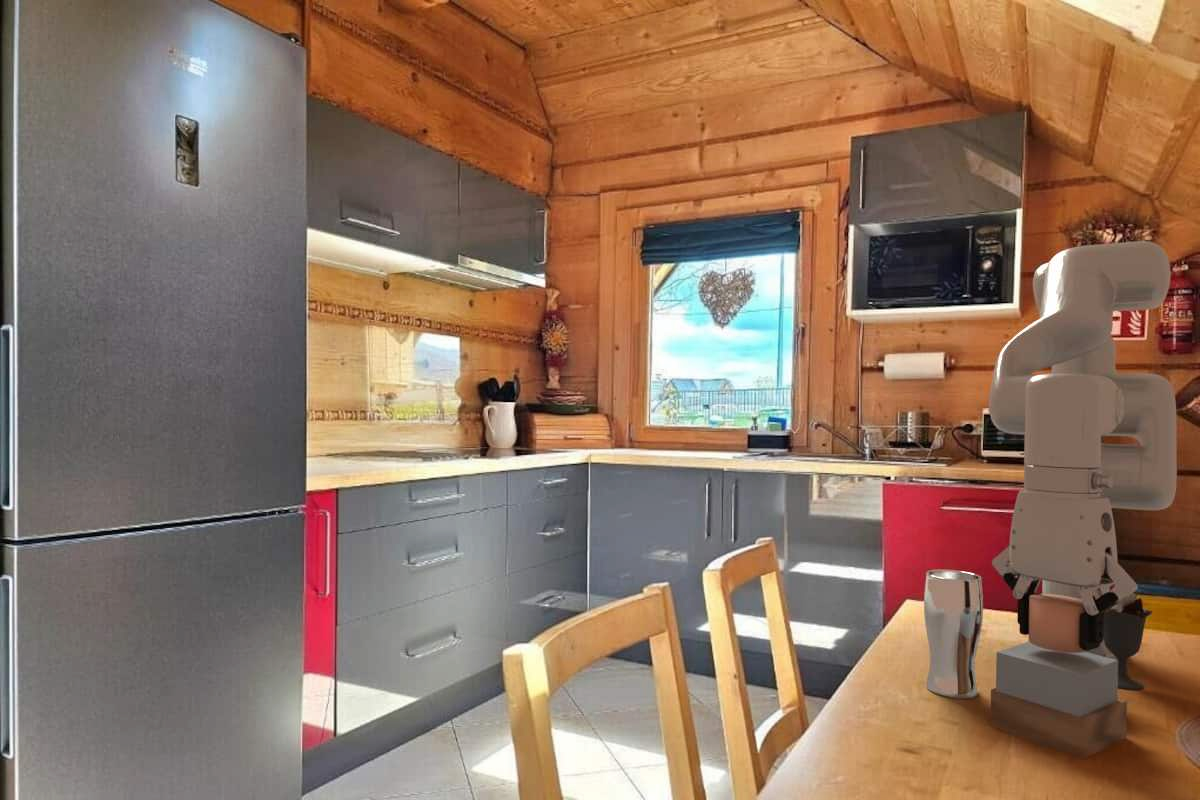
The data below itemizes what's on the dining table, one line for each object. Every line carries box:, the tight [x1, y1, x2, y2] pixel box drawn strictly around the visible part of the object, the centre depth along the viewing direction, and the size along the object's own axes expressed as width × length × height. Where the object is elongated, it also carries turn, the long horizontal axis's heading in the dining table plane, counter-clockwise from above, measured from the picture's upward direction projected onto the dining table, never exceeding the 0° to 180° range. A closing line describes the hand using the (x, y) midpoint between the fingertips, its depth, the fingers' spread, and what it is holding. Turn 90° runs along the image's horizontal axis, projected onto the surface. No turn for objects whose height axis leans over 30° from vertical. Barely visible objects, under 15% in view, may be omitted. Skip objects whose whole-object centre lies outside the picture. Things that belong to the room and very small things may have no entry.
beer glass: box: [923, 569, 984, 700], centre depth 102 cm, size 7×7×15 cm
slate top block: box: [995, 641, 1119, 718], centre depth 90 cm, size 9×9×4 cm
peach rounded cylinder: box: [1028, 593, 1089, 653], centre depth 90 cm, size 6×6×5 cm
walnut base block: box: [989, 687, 1128, 760], centre depth 90 cm, size 10×10×4 cm
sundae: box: [1103, 583, 1153, 691], centre depth 106 cm, size 7×7×15 cm
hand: (1058, 638), depth 90 cm, fingers closed on peach rounded cylinder, 6 cm apart
